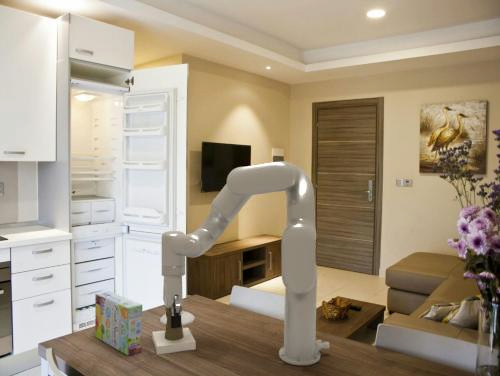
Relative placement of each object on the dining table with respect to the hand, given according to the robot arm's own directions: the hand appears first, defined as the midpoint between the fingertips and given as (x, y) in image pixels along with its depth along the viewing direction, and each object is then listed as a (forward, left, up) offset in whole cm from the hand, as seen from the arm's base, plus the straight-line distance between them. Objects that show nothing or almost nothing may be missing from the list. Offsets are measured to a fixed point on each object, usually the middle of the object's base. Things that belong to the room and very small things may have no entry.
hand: (173, 322), depth 137 cm
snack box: (+17, -6, -8) cm, 20 cm away
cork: (0, 0, -5) cm, 5 cm away
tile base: (0, 0, -7) cm, 7 cm away
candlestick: (-5, -21, -7) cm, 23 cm away
